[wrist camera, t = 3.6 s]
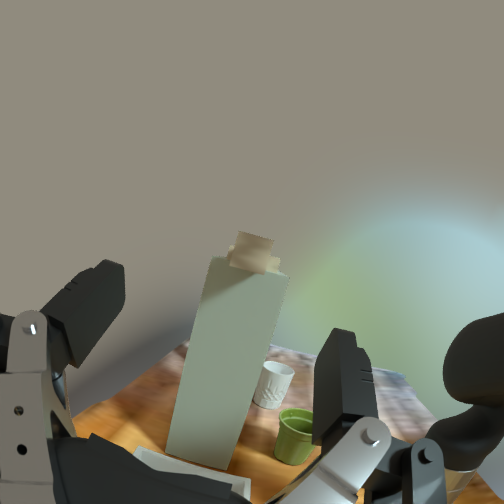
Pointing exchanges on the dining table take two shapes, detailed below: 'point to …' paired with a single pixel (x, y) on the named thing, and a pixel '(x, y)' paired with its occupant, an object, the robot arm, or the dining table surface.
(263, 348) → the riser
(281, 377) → the white cup
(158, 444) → the dining table surface
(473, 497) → the dining table surface
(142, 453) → the tray
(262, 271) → the beige long bar
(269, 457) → the dining table surface
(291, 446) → the plant pot
